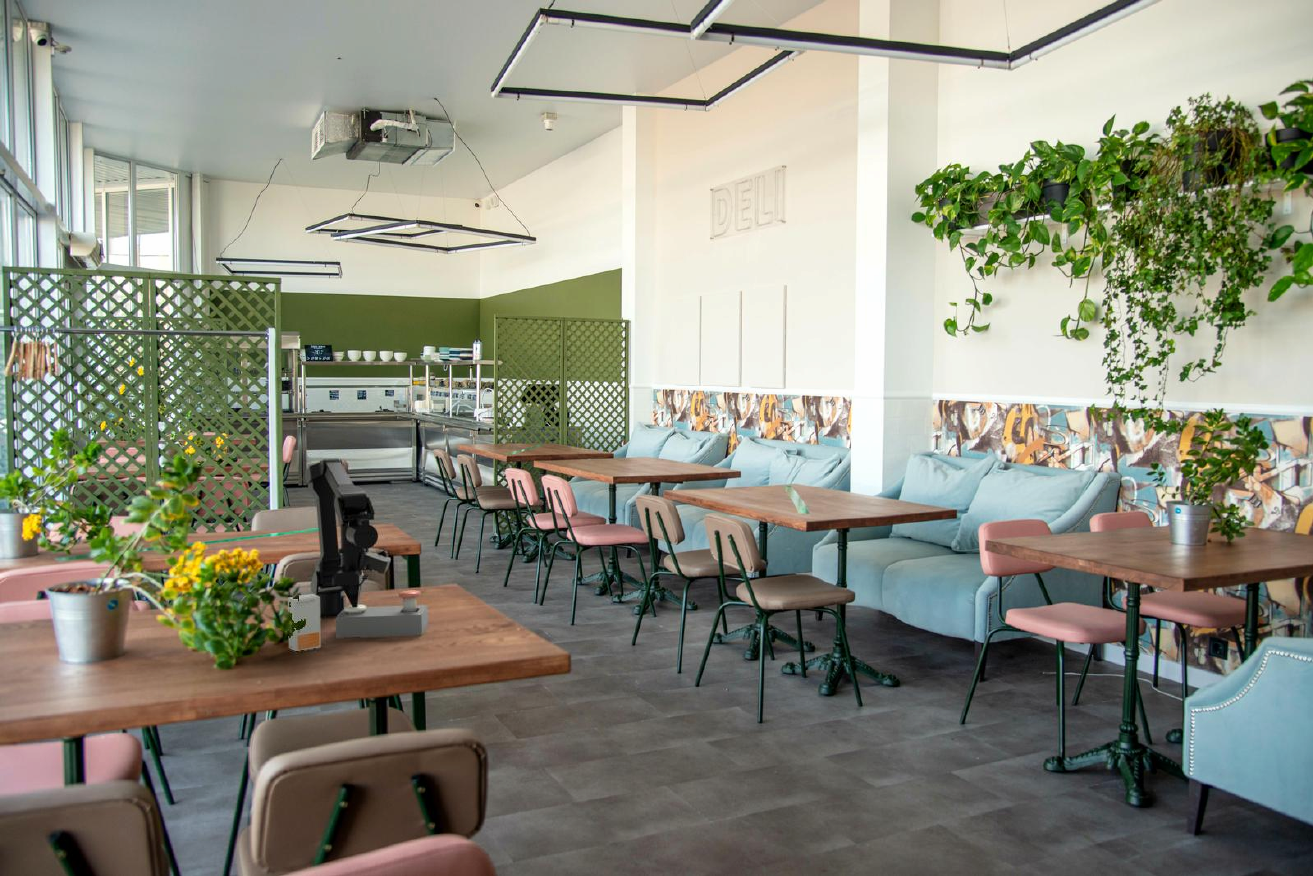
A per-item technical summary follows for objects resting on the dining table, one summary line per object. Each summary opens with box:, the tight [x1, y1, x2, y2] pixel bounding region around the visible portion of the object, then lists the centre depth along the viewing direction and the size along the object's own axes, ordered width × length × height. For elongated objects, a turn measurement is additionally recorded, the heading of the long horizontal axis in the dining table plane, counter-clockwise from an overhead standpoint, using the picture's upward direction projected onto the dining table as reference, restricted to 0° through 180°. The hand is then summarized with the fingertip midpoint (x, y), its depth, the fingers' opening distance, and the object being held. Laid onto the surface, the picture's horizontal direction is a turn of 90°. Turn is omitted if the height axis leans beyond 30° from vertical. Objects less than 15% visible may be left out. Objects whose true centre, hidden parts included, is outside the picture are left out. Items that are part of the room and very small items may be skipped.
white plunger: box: [344, 604, 367, 614], centre depth 231 cm, size 5×5×5 cm
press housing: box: [335, 604, 429, 639], centre depth 232 cm, size 20×10×5 cm, turn 95°
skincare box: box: [287, 593, 322, 652], centre depth 218 cm, size 6×4×12 cm
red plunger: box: [398, 589, 421, 613], centre depth 233 cm, size 5×5×5 cm
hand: (355, 607), depth 231 cm, fingers closed, pressing on white plunger
